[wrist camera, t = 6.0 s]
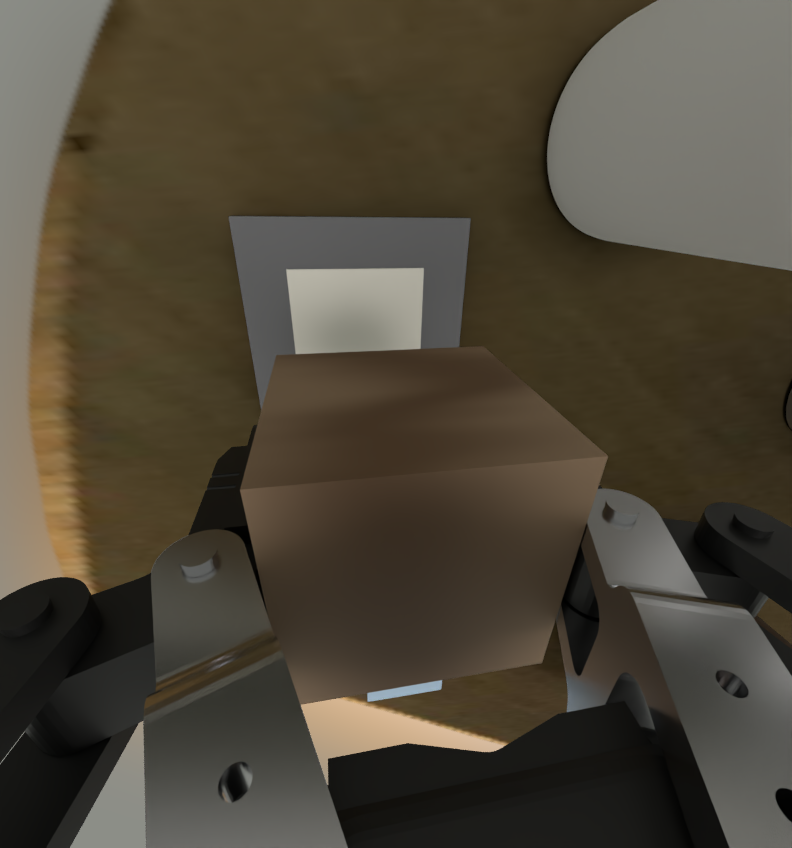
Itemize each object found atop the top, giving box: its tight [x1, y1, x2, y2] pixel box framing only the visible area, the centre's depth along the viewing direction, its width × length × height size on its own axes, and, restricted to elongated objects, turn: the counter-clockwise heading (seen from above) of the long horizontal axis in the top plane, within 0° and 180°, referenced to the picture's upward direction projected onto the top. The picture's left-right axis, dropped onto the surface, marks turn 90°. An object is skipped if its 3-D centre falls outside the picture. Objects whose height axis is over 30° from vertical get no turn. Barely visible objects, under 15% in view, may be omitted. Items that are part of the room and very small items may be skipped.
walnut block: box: [240, 346, 608, 705], centre depth 9 cm, size 5×5×5 cm
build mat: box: [229, 216, 471, 410], centre depth 19 cm, size 10×10×1 cm
